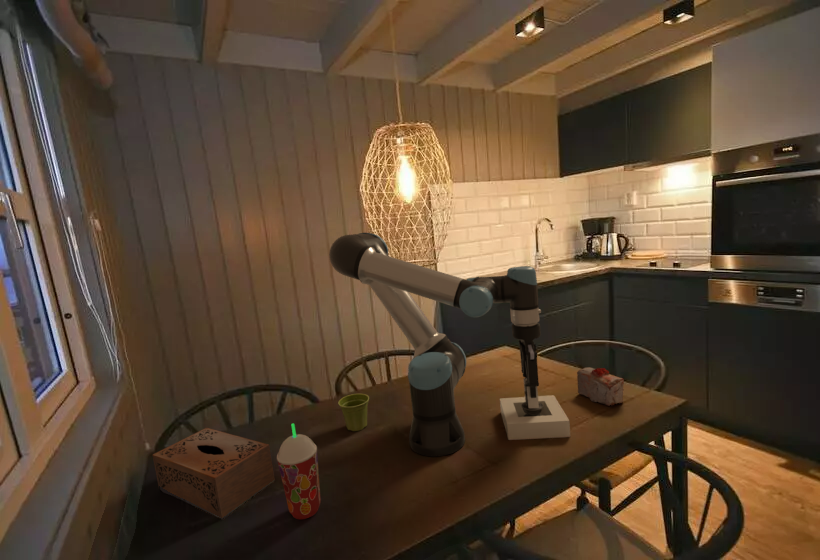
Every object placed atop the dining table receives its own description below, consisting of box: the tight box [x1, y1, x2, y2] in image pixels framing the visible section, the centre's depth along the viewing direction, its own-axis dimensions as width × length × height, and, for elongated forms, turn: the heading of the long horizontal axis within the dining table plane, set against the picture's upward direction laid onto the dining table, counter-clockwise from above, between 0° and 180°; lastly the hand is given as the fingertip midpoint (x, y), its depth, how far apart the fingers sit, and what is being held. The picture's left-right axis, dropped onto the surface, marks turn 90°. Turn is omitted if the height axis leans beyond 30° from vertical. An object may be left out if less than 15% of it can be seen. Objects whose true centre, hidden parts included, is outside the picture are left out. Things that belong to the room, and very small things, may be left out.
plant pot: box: [337, 393, 370, 432], centre depth 124 cm, size 9×9×9 cm
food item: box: [576, 367, 625, 407], centre depth 125 cm, size 14×8×10 cm, turn 24°
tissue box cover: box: [151, 427, 276, 518], centre depth 101 cm, size 26×14×10 cm, turn 59°
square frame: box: [499, 395, 571, 441], centre depth 115 cm, size 16×16×4 cm
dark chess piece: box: [521, 381, 543, 417], centre depth 114 cm, size 6×6×12 cm
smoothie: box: [276, 423, 322, 520], centre depth 87 cm, size 8×8×20 cm
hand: (531, 403), depth 114 cm, fingers closed on dark chess piece, 4 cm apart
